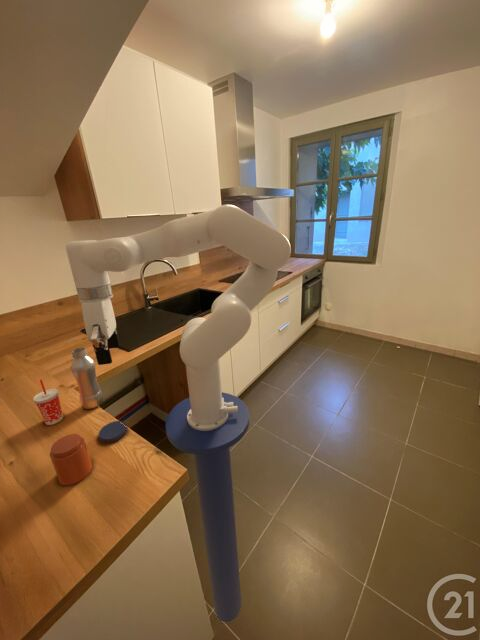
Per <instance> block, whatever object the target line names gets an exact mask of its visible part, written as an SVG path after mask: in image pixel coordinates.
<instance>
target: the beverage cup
mask: <svg viewBox="0 0 480 640" xmlns="http://www.w3.org/2000/svg"><path fill="white" fill-rule="evenodd" d="M39 383H40V385H41V387H42V391H40V392H39V393H37V394H35V395H34V397H33V398H32V400H33V402H34V404H36V406H37V408H38V410H39V413H40V414H41V417H42V419H43V421H44V423H45V425H47V426H51V425H55V424H57V423H59V422H61V421H62V420H63V418H64V412H63V409H62V405H61V400H60V396H59V389H58V388H57V389H56V388H50V389H49V388H48V389H46V388H45V385H44V382H43V380H42V379H40V380H39Z"/></svg>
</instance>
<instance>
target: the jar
mask: <svg viewBox="0 0 480 640" xmlns="http://www.w3.org/2000/svg"><path fill="white" fill-rule="evenodd" d="M49 458H50V461H51V463H52V466H53V468H54V471H55V474H56V477H57V479H58V482H59V484H61V485H62V486H72V485H75V484H77V483H79V482H81V481H82V480H84V479H85V478H86V477H87V476H88V475H89V474H90V472H91V471H92V469H93V463H92V459H91V457H90V454H89V450H88V446H87V444H86V440H85V438H84V437H83V436H82V435H80V434H79V433H70V434H69V433H68V434H67V435H64V436H62V437H60V438H58V439H57V440H55V441H54V443H53V444H52V445H51V447H50V452H49Z"/></svg>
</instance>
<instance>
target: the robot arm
mask: <svg viewBox="0 0 480 640" xmlns="http://www.w3.org/2000/svg"><path fill="white" fill-rule="evenodd" d="M222 246H223V247H225V248H227V249H228V250H230V251H232V252H233V253H236V254H237V255H239V256H241V257H242V258H245V259H246V260H248V261H249V262H248V265H247V267H246V269H245V270H244V272H243V273H242V274H241V275H240V276H239V277H238V279H236V280H235V281H234V282H233V284H231V285H230V286H229V287H228V288H226V289H225V291H223V292H222V293H221V294H220V295H219V296H217V297H216V298H215V300H213V303H212V304H211V308H210V313H211V314H210V315H209V316H208V317H207V318H205V317H200V316H199V317H194V318H192V319H190V320H189V321H187V322H186V324H185V325H184V327H183V329H182V331H181V336H180V343H179V356H180V358H181V361H182V362H183V364H184V365H185V371H186V372H185V373H186V380H187V388H188V395H189V397H190V404H191V409H190V410H189V412H188V414H187V421H188V424H189V425H190V426H191V427H192V428H194V429H196V430H200V431H209V430H213V429H216V428H218V427H220V426H222V425H223V424H224V423H225V422H226V420H227V418H228V413H238V407H237V406H233V402H229V403H226V402H224V398H222V392H223V391H222V381H221V366H220V359H221V358H222V357H223V356H224V355H226V354H227V353H228V352H229V351H230V350H231V349H233V347H234V346H236V344H238V343H239V342H240V341H241V340H243V338H244V337H245V336H246V335H247V333H248V332H249V330H250V328H251V325H252V314H251V313H252V312H251V311H253V310H254V309H255V308H256V307H257V306H258V305H259V304H260V303H261V302H262V301H263V300H264V299H265V298H266V297H267V296H268V294H269V293H270V292H271V291H272V289H273V288H274V285H275V284H276V281H277V278H278V274H279V269H281V268H282V267H284V266H285V265H287V263H288V261H289V260H290V258H291V253H292V247H291V243H290V241H289V239H288V238H287V237H286V236H285V234H283V233H282V232H280V231H279V230H277V229H275V228H274V227H272V226H270V225H269V224H267V223H265V222H264V221H262V220H260V219H258V218H257V217H255V216H254V215H252V214H250V213H249V212H247V211H245V210H244V209H242V208H241V207H238V206H236V205H234V204H227V203H226V204H222V205H220V206H218V207H217V208H214V209H210V210H207V211H203V212H199V213H195V214H192V215H189V216H183V217H180V218H176V219H172V220H170V221H168V222H166V223H164V224H162V225H161V226H158V227H156V228H153V229H150V230H147V231H144V232H140V233H136V234H135V233H134V234H132V235H128V236H122V237H112V238H107V239H100V240H97V239H96V240H95V239H85V240H73V241H72V240H71V241H69V242H67V243H66V245H65V250H66V255H67V259H68V262H69V266H70V270H71V274H72V278H73V282H74V286H75V289H76V293H77V297H78V301H79V303H81V312H82V319H83V325H84V329H85V333H86V338H87V341H88V342H90V343H91V344H92V347H93V351H94V353H95V358H96V363H97V364H98V366H103V365H110V364H112V363H113V357H112V354H111V350H110V349H116V348H117V349H118V348H120V347H121V345H120V344H121V343H120V340H119V335H118V330H117V321H116V315H115V312H114V307H113V303H112V300H111V299H112V298H114V293H113V288H112V284H111V280H110V276H109V275H110V274H109V272H112V273H113V272H115V273H119V272H126V271H128V270H129V269H131V268H133V267H135V266H138V265H142V264H146V263H149V262H152V261H153V262H154V261H156V260H160V259H166V258H181V257H186V256H188V255H193V254H197V253H200V252H201V253H202V252H204V251H208V250H212V249H215V248H220V247H222ZM189 397H188V398H189Z"/></svg>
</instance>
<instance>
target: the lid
mask: <svg viewBox="0 0 480 640" xmlns="http://www.w3.org/2000/svg"><path fill="white" fill-rule="evenodd" d="M120 422H121V423H123V424H124V425H125V426H127V423H126V422H125V421H123V420H114V421H111V422H109V423H107V424H105V425H103V427H101V429H100V430H99V431H98V432H99V433H98V439H99V440H100V442H101V443H103V444H111V443H115V442H117V441H120V440H121V439H122V438H124V436H125V435H126V434H127V432H128V426H127V427H125V426H124V425H123V424H121V423H120Z"/></svg>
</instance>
